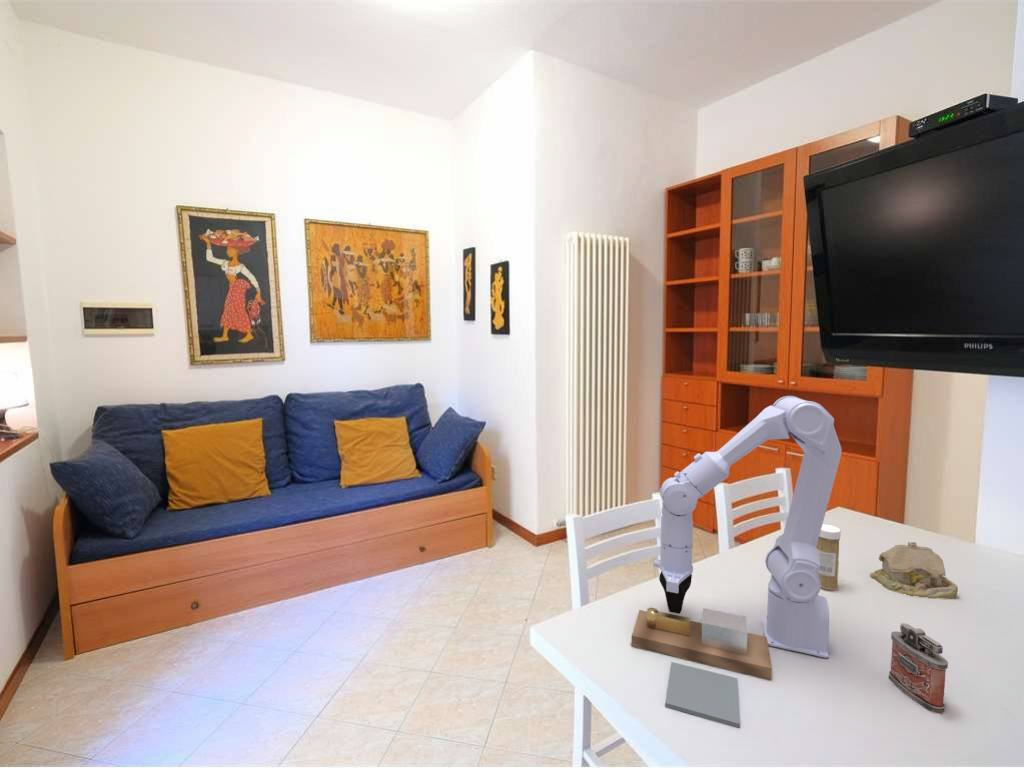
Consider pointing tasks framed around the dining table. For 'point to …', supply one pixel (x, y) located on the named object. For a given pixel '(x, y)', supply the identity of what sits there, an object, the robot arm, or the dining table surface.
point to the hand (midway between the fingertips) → (674, 611)
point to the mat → (703, 694)
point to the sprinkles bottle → (828, 556)
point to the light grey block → (724, 631)
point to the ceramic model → (914, 572)
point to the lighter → (918, 667)
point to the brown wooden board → (703, 648)
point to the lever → (668, 622)
